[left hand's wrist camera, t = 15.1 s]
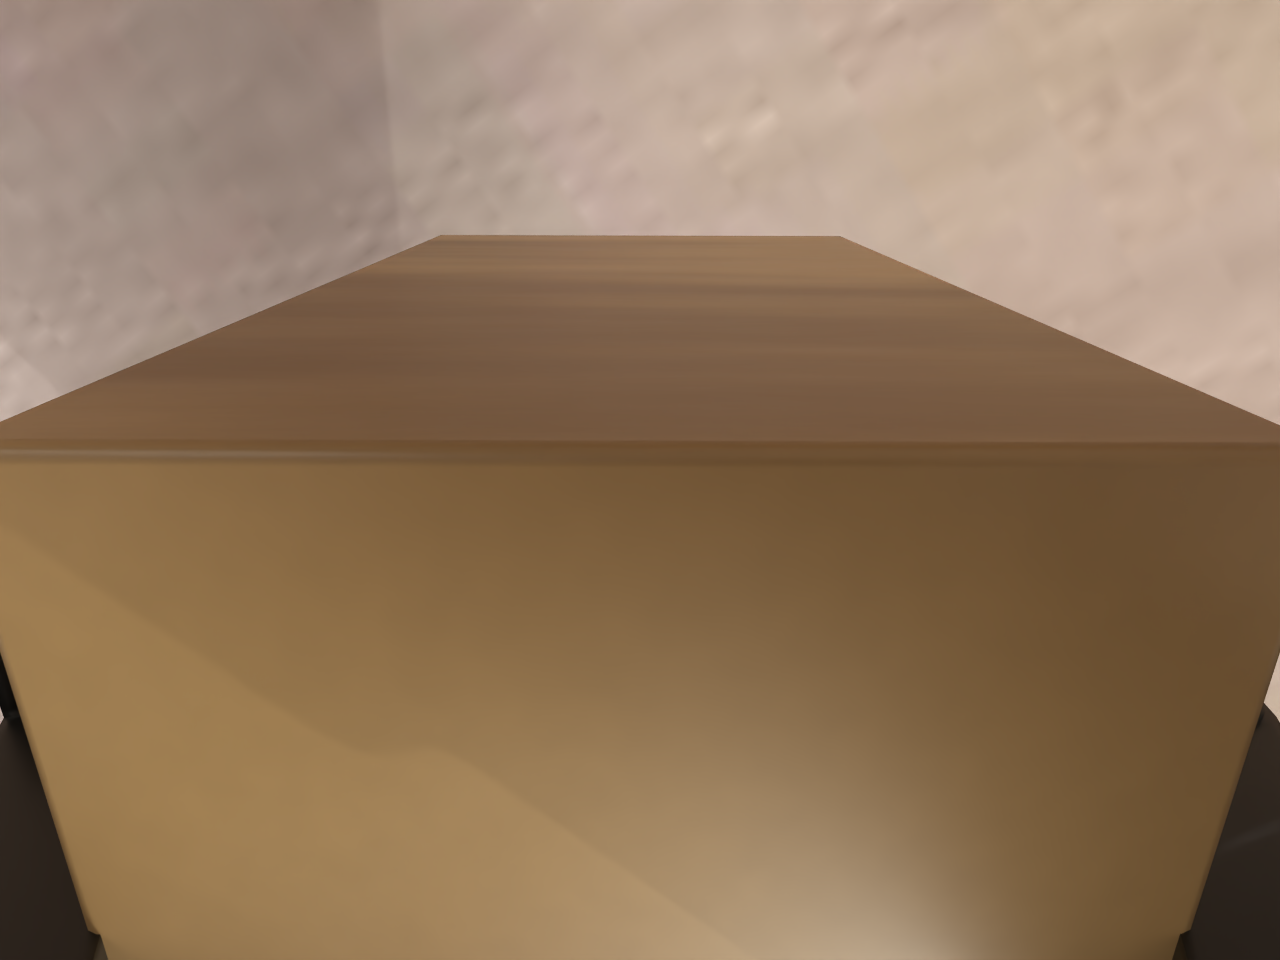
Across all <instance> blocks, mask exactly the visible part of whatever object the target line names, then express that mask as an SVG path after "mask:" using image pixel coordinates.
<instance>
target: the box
mask: <svg viewBox="0 0 1280 960" xmlns="http://www.w3.org/2000/svg"><path fill="white" fill-rule="evenodd" d="M0 653H1V656H2V659H3V662H4V666H5V669H6V672H7V675H8V678H9V681H10V685H11V688H12V691H13V694H14V697H15V700H16V704H17V707H18V710H19V713H20V716H21V719H22V723H23V726H24V729H25V732H26V735H27V738H28V742H29V745H30V748H31V751H32V754H33V757H34V761H35V764H36V767H37V770H38V773H39V777H40V780H41V783H42V786H43V789H44V792H45V796H46V799H47V802H48V805H49V808H50V811H51V815H52V818H53V821H54V824H55V827H56V830H57V834H58V837H59V840H60V843H61V846H62V849H63V853H64V856H65V859H66V862H67V865H68V868H69V872H70V875H71V878H72V881H73V884H74V887H75V891H76V894H77V897H78V900H79V903H80V906H81V910H82V913H83V916H84V919H85V922H86V925H87V929H88V930H89V931H91V932H93V933H95V934H100V935H101V938H102V941H103V944H104V948H105V951H106V954H107V957H108V960H1172V958H1173V955H1174V952H1175V949H1176V945H1177V942H1178V939H1179V936H1180V934H1182V933H1184V932H1186V931H1188V930H1190V929H1191V926H1192V923H1193V920H1194V917H1195V914H1196V911H1197V908H1198V905H1199V901H1200V898H1201V895H1202V892H1203V889H1204V886H1205V883H1206V880H1207V877H1208V874H1209V870H1210V867H1211V864H1212V861H1213V858H1214V855H1215V852H1216V849H1217V846H1218V843H1219V839H1220V836H1221V833H1222V830H1223V827H1224V824H1225V821H1226V818H1227V815H1228V811H1229V808H1230V805H1231V802H1232V799H1233V796H1234V793H1235V790H1236V787H1237V784H1238V780H1239V777H1240V774H1241V771H1242V768H1243V765H1244V762H1245V759H1246V756H1247V752H1248V749H1249V746H1250V743H1251V740H1252V737H1253V734H1254V731H1255V728H1256V725H1257V721H1258V718H1259V715H1260V712H1261V709H1262V706H1263V703H1264V700H1265V697H1266V694H1267V690H1268V687H1269V684H1270V681H1271V678H1272V675H1273V672H1274V669H1275V666H1276V662H1277V659H1278V656H1279V653H1280V425H1278V424H1275V423H1273V422H1271V421H1268V420H1266V419H1264V418H1261V417H1259V416H1257V415H1254V414H1252V413H1250V412H1247V411H1245V410H1243V409H1240V408H1238V407H1236V406H1233V405H1231V404H1229V403H1226V402H1224V401H1222V400H1219V399H1217V398H1215V397H1212V396H1210V395H1208V394H1205V393H1203V392H1201V391H1199V390H1196V389H1194V388H1192V387H1189V386H1187V385H1185V384H1182V383H1180V382H1178V381H1175V380H1173V379H1171V378H1168V377H1166V376H1164V375H1161V374H1159V373H1157V372H1154V371H1152V370H1150V369H1147V368H1145V367H1143V366H1140V365H1138V364H1136V363H1133V362H1131V361H1129V360H1126V359H1124V358H1122V357H1119V356H1117V355H1115V354H1112V353H1110V352H1108V351H1105V350H1103V349H1101V348H1099V347H1096V346H1094V345H1092V344H1089V343H1087V342H1085V341H1082V340H1080V339H1078V338H1075V337H1073V336H1071V335H1068V334H1066V333H1064V332H1061V331H1059V330H1057V329H1054V328H1052V327H1050V326H1047V325H1045V324H1043V323H1040V322H1038V321H1036V320H1033V319H1031V318H1029V317H1026V316H1024V315H1022V314H1019V313H1017V312H1015V311H1012V310H1010V309H1008V308H1005V307H1003V306H1001V305H999V304H996V303H994V302H992V301H989V300H987V299H985V298H982V297H980V296H978V295H975V294H973V293H971V292H968V291H966V290H964V289H961V288H959V287H957V286H954V285H952V284H950V283H947V282H945V281H943V280H940V279H938V278H936V277H933V276H931V275H929V274H926V273H924V272H922V271H919V270H917V269H915V268H912V267H910V266H908V265H905V264H903V263H901V262H899V261H896V260H894V259H892V258H889V257H887V256H885V255H882V254H880V253H878V252H875V251H873V250H871V249H868V248H866V247H864V246H861V245H859V244H857V243H854V242H852V241H850V240H847V239H845V238H843V237H840V236H553V235H440V236H438V237H435V238H433V239H431V240H428V241H426V242H424V243H421V244H419V245H417V246H414V247H412V248H409V249H407V250H405V251H402V252H400V253H398V254H395V255H393V256H391V257H388V258H386V259H383V260H381V261H379V262H376V263H374V264H372V265H369V266H367V267H365V268H362V269H360V270H358V271H355V272H353V273H350V274H348V275H346V276H343V277H341V278H339V279H336V280H334V281H332V282H329V283H327V284H324V285H322V286H320V287H317V288H315V289H313V290H310V291H308V292H306V293H303V294H301V295H299V296H296V297H294V298H291V299H289V300H287V301H284V302H282V303H280V304H277V305H275V306H273V307H270V308H268V309H265V310H263V311H261V312H258V313H256V314H254V315H251V316H249V317H247V318H244V319H242V320H240V321H237V322H235V323H232V324H230V325H228V326H225V327H223V328H221V329H218V330H216V331H214V332H211V333H209V334H207V335H204V336H202V337H199V338H197V339H195V340H192V341H190V342H188V343H185V344H183V345H181V346H178V347H176V348H173V349H171V350H169V351H166V352H164V353H162V354H159V355H157V356H155V357H152V358H150V359H148V360H145V361H143V362H140V363H138V364H136V365H133V366H131V367H129V368H126V369H124V370H122V371H119V372H117V373H114V374H112V375H110V376H107V377H105V378H103V379H100V380H98V381H96V382H93V383H91V384H89V385H86V386H84V387H81V388H79V389H77V390H74V391H72V392H70V393H67V394H65V395H63V396H60V397H58V398H56V399H53V400H51V401H48V402H46V403H44V404H41V405H39V406H37V407H34V408H32V409H30V410H27V411H25V412H22V413H20V414H18V415H15V416H13V417H11V418H8V419H6V420H4V421H1V422H0Z"/></svg>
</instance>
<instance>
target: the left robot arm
mask: <svg viewBox="0 0 1280 960" xmlns="http://www.w3.org/2000/svg"><path fill="white" fill-rule="evenodd" d="M0 707H1V710H2V713H3V716H4V719H3V721H2V722H1V724H0V960H108V957H107V954H106V951H105V948H104V944H103V941H102V938H101V935H100V934H95V933H93V932H91V931H89V930H88V929H87V925H86V922H85V919H84V916H83V913H82V910H81V906H80V903H79V900H78V897H77V894H76V891H75V887H74V884H73V881H72V878H71V875H70V872H69V868H68V865H67V862H66V859H65V856H64V853H63V849H62V846H61V843H60V840H59V837H58V834H57V830H56V827H55V824H54V821H53V818H52V815H51V811H50V808H49V805H48V802H47V799H46V796H45V792H44V789H43V786H42V783H41V780H40V777H39V773H38V770H37V767H36V764H35V761H34V757H33V754H32V751H31V748H30V745H29V742H28V738H27V735H26V732H25V729H24V726H23V723H22V719H21V716H20V713H19V710H18V707H17V704H16V700H15V697H14V694H13V691H12V688H11V685H10V681H9V678H8V675H7V672H6V669H5V666H4V662H3V659H2V656H1V653H0ZM1172 960H1280V722H1279V721H1278V719H1277V717H1276V716H1275V715H1274V714H1273V713H1272V711H1271V710H1270V709H1269V708H1268V707H1267V706H1266V705H1265V704H1264V703H1263V706H1262V709H1261V712H1260V715H1259V718H1258V721H1257V725H1256V728H1255V731H1254V734H1253V737H1252V740H1251V743H1250V746H1249V749H1248V752H1247V756H1246V759H1245V762H1244V765H1243V768H1242V771H1241V774H1240V777H1239V780H1238V784H1237V787H1236V790H1235V793H1234V796H1233V799H1232V802H1231V805H1230V808H1229V811H1228V815H1227V818H1226V821H1225V824H1224V827H1223V830H1222V833H1221V836H1220V839H1219V843H1218V846H1217V849H1216V852H1215V855H1214V858H1213V861H1212V864H1211V867H1210V870H1209V874H1208V877H1207V880H1206V883H1205V886H1204V889H1203V892H1202V895H1201V898H1200V901H1199V905H1198V908H1197V911H1196V914H1195V917H1194V920H1193V923H1192V926H1191V929H1190V930H1188V931H1186V932H1184V933H1182V934H1180V936H1179V939H1178V942H1177V945H1176V949H1175V952H1174V955H1173V958H1172Z"/></svg>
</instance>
